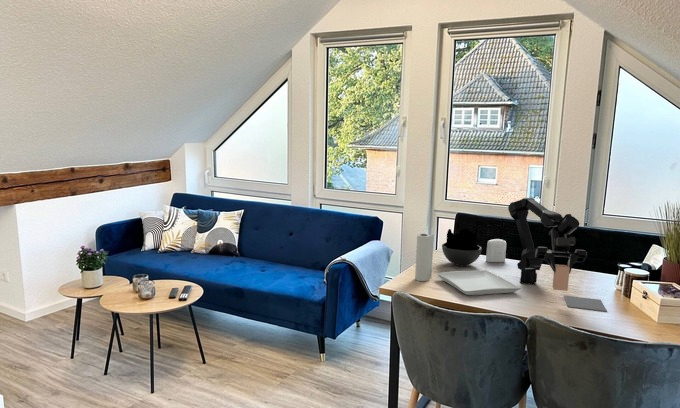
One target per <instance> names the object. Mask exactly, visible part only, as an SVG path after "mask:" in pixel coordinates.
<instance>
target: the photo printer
mask: <svg viewBox="0 0 680 408" xmlns="http://www.w3.org/2000/svg"><path fill="white" fill-rule="evenodd" d="M506 251H507V242H506V240H504V239H500V238H494V239H490V240H487V245H486V256H485V261H486V262H487V263H505V262H506V255H507V253H506Z"/></svg>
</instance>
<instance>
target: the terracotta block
mask: <svg viewBox="0 0 680 408" xmlns="http://www.w3.org/2000/svg"><path fill="white" fill-rule="evenodd" d="M555 267H556V272H555V273H554V272H553V277H552V289H553V290H554V291H555V290H556V291H562V292H563V291H564V292H568V290H569V279H570V274H569V271H570V268H569V266H568V264H556V263H555Z"/></svg>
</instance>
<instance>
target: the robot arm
mask: <svg viewBox="0 0 680 408" xmlns="http://www.w3.org/2000/svg"><path fill="white" fill-rule="evenodd" d="M507 210H508V213H509V215H510V217H511V219H513V220H514V221H515V223H516V228H517V231H518V235H519V240H520V243H521V245H522V246H521V248H522V252H521V255H520V257H521V258H520V259H521V260H519V261H518V263H517V264H516V265H517V266H516V267H517V269H519V270H520V278H519V283H520V284H525V285H534V286H535V285H536V284H537V280H538V273H537V271H540V270H541V267H542V264H543V262H546V263H547V264H548V265H549V267H550V268H551V270H552V271H553V274H554V273H555V272H556V267H555V264H556V263H555V257H559V258H568V261H567V265H568V266H569V268H570V271H569V275H570V274H571V272H572V269H573V265H574V264H576V263H584V262H585V261H586V259H587V257H588V252H587V251H586V250H585V249H575V251H574V252H571V251H570V249H571V246H575V245H576V237H575V236H569V237H567V236H568V235H571V234H572V233H573V232H574V231H575V230H577V229H578V228H579V227H580V221H579V219H577V218H576V217H574V216H573V215H572V214H570V213H566V214H565V215H564V216H563V215H562V214H560V213H559V212H556V211H552V210H549V209H548V208H546V207H545V206H544V205H542V204H541V203H539V202H538V201H537V200H535V198H534V197H523V198H521V199H519V200H516V201H512V202H510V203H509V205H508V209H507ZM529 211H530V212H532V213H533V214H534V215H535V216H537V217H539V219H540V223H541V224H542V225H543V226H544V227H545V228H552V229H550V231H549V232H548V235H549V236H551V237H550V238H551V249H548V247H547V246H538V247H536V248H535V245H534V242H533V237H532V234H531V230H530V226H529V223H528V220H527V218H528V215H529Z"/></svg>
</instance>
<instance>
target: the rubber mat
mask: <svg viewBox="0 0 680 408" xmlns="http://www.w3.org/2000/svg"><path fill="white" fill-rule="evenodd" d="M563 297H564V300H565V303H566V307H567V308H570V309H571V308H572V309H580V310H589V311H596V312H604V313H607V312H608V310H607V308H606V307H605V305H604V303H603V300H602V299H597V298H590V297H580V296H575V295H574V296H572V295H565V294H564V295H563Z"/></svg>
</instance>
